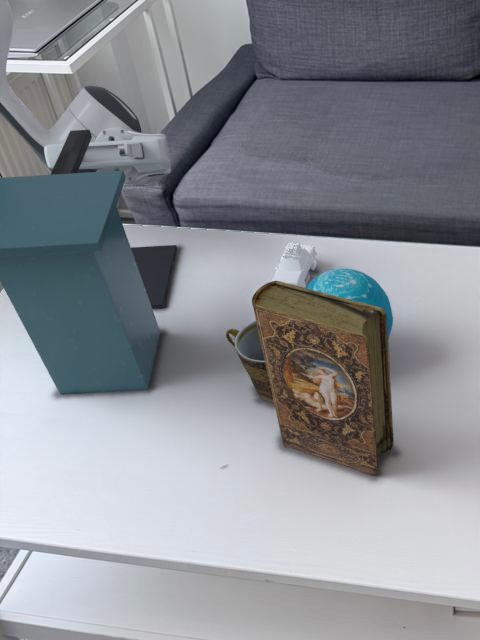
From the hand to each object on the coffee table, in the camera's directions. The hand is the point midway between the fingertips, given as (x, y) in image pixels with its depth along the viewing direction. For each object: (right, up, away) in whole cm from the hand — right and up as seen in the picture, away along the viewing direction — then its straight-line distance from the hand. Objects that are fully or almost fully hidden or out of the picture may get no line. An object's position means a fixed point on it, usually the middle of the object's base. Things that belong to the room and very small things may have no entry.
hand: (93, 151), depth 119 cm
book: (+39, -49, -11) cm, 64 cm away
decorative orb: (+41, -33, +1) cm, 52 cm away
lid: (+1, -12, -14) cm, 19 cm away
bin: (+2, -33, +3) cm, 33 cm away
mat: (+1, -15, +17) cm, 23 cm away
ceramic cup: (+29, -38, -2) cm, 48 cm away
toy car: (+31, -16, +15) cm, 38 cm away
